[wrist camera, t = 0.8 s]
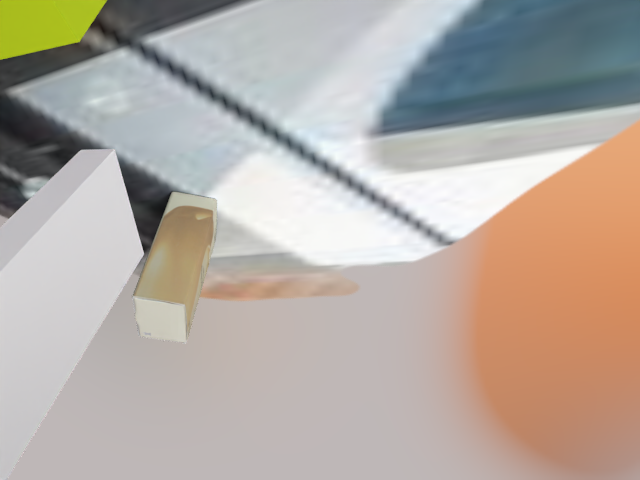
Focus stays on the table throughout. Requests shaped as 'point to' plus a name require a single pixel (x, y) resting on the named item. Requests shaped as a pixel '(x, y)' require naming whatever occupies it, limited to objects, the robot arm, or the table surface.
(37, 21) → the puzzle toy
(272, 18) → the table surface
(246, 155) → the table surface
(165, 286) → the skincare box
